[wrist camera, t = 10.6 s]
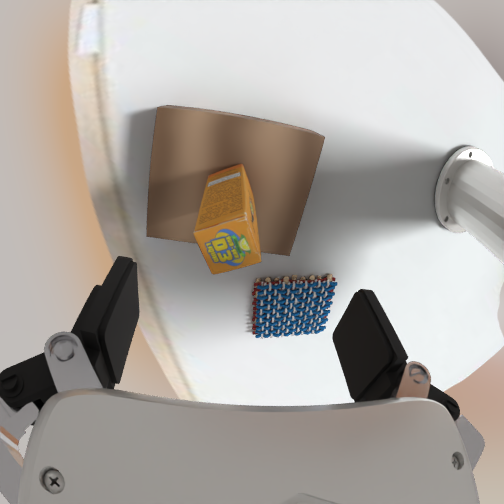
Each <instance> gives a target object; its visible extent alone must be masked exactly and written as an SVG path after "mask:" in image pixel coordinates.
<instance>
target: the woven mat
mask: <svg viewBox="0 0 504 504" xmlns="http://www.w3.org/2000/svg"><path fill="white" fill-rule="evenodd" d="M332 281H335V278H334V277H332V274H329V275H327V277H325V278H323V279H321V276H318V277H317V279H316V280H315V277H314V275H312V276H310V277H309V280H306V279H305V277H301V278H300V280H297V275H292V280H290V279H289V277H287V276H286V277H284V279H281V280H279V278H275V281H274V282H271V279H270V277H268V278H266V279H265V282H261V278H259V279H256V283H254V286H256V288H254V292H252V295H253V296H254V295H255V296H256V297H255V298H254V301H255V302H253V303H252V305H255V307H253V310H255V311H253V319H252V321H255V324H253V327H252V329H253V330H254V331H253V335H254V334H258V335H256V338H259V337H261V338H262V339H263V337H264V338H268V337H269V336H270V337H272V336H275V337H277V338H279V336H281V337H283V336H289V335H290V334H292V336H293V335H296V336H298V335H300V334H301V335H303V334H307V335H308V334H310V333H311V334H314V333H315V334H318V333H319V332H321V331H323V330H324V329H326V326H321V325H322V324H325V323H326V321H328V319H327V318H326V317H327V316H328V313H330V310H325V309H328V307H330V305H331V304H332V303H333V302H332V301H330V300H331V299H332V296H333V295H335V293H334V292H333V289H335V286H337V282H332ZM306 288H307V289H306ZM297 294H298V295H297ZM304 298H305V299H304ZM270 299H272V300H270ZM280 299H281V300H280ZM329 301H330V302H329ZM303 306H304V307H303ZM310 306H311V307H310ZM270 308H272V309H270ZM269 309H270V310H269ZM315 310H316V311H315ZM268 318H269V319H268ZM321 321H322V322H321ZM261 322H262V323H261ZM277 324H278V326H277ZM268 325H270V326H268ZM292 327H293V328H292ZM284 328H285V329H284ZM299 330H300V331H299ZM307 330H308V331H307ZM294 331H296V332H294ZM285 332H286V333H285ZM267 333H268V334H267ZM276 333H277V334H276Z"/></svg>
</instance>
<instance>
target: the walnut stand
mask: <svg viewBox="0 0 504 504" xmlns="http://www.w3.org/2000/svg"><path fill="white" fill-rule="evenodd" d="M324 139H325V137H324V136H322V135H320V134H318V133H316V132H314V131H311V130H308V129H304V128H300V127H296V126H292V125H288V124H283V123H279V122H275V121H270V120H265V119H260V118H255V117H250V116H245V115H239V114H234V113H227V112H221V111H214V110H207V109H200V108H191V107H182V106H172V105H166V106H161V107H158V108H157V114H156V121H155V129H154V137H153V145H152V155H151V165H150V177H149V191H148V208H147V237H153V238H161V239H168V240H176V241H183V242H190V243H197V241H196V239H195V237H194V234H193V232H194V230H195V226H196V222H197V218H198V214H199V209H200V205H201V201H202V198H203V194H204V190H205V187H206V183H207V179H208V176H209V175H211V174H214V173H216V172H219V171H222V170H224V169H227V168H230V167H233V166H236V165H239V164H243V166H244V169H245V172H246V175H247V177H248V180H249V183H250V187H251V190H252V193H253V197H254V203H255V210H256V218H257V226H258V234H259V243H260V252H264V253H271V254H279V255H286V256H290V252H291V249H292V246H293V243H294V240H295V237H296V234H297V230H298V227H299V224H300V221H301V218H302V214H303V211H304V208H305V205H306V201H307V198H308V195H309V191H310V188H311V185H312V181H313V178H314V174H315V171H316V168H317V164H318V161H319V157H320V154H321V150H322V146H323V143H324Z"/></svg>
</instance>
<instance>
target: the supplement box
mask: <svg viewBox="0 0 504 504" xmlns="http://www.w3.org/2000/svg"><path fill="white" fill-rule="evenodd" d="M193 234H194V237H195V239H196V241H197V243H198V245H199V247H200V250H201V252H202V254H203V256H204V258H205V260H206V262H207V264H208V266H209V269H210V271H211V273H212V274H219V273H223V272H228V271H231V270H235V269H239V268H243V267H246V266H250V265H253V264H256V263H259V262H261V252H260V243H259V234H258V226H257V218H256V210H255V203H254V197H253V193H252V190H251V187H250V183H249V180H248V177H247V175H246V172H245V169H244V166H243V164H239V165H236V166H233V167H230V168H227V169H224V170H222V171H219V172H216V173H214V174H211V175H209V176H208V179H207V183H206V187H205V190H204V194H203V198H202V201H201V205H200V209H199V214H198V218H197V222H196V226H195V230H194V232H193Z"/></svg>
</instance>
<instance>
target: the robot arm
mask: <svg viewBox="0 0 504 504" xmlns="http://www.w3.org/2000/svg"><path fill="white" fill-rule="evenodd" d="M435 208H436V213H437V216H438V219H439V220H440V222H441V224H442V225H443V226H444V227H445V228H447V229H448V230H449V231H451V232H454V233H462V232H466V231H467V232H468V233H469V234H471V235H472V236H473V237H474V238H475V239H476V240H478V241H479V242H480V243H481V244H482V245H483V246H484V247H485V248H486V249H488V250H489V251H490V252H491V253H492V254H493V255H494V256H495V257H496V258H497V259H498V260H499V261H500V262H501V263H502V264H503V265H504V173H502V172H500V171H498V170H497V169H495V168H493V165H492V162H491V160H490V158H489V157H488V155H487V154H486V153H485V152H484V151H482V150H480V149H478V148H476V147H473V146H467V147H464V148H461V149H459V150H458V151H456V152H455V153H454V154H453V155H452V156H451V157H450V158H449V159H448V161H447V162H446V164H445V165H444V167H443V169H442V171H441V174H440V176H439V179H438V182H437V186H436V193H435ZM138 319H139V298H138V281H137V263H136V262H133V260H132V258H128V257H122V256H118V257H117V259H116V261H115V262H114V264H113V266H112V268H111V270H110V272H109V274H108V275H107V277H106V279H105V280H104V282H103V284H102V286H100V285H96V286H95V287H94V288H93V290H92V292H91V294H90V296H89V297H88V299H87V301H86V303H85V305H84V307H83V309H82V311H81V313H80V314H79V317H78V318H77V321H76V322H75V325H74V327H73V329H72V331H71V333H70V332H59V333H56V334H54V335H52V336H51V337H50V338H49V339H48V340H47V342H46V343H45V347H44V353H42V354H39V355H37V356H35V357H33V358H30V359H28V360H26V361H23V362H21V363H18V364H16V365H14V366H11V367H9V368H7V369H5V370H3V371H2V372H1V373H0V492H1V493H2V494H3V496H4V497H5V498H6V499H7V500H8V502H9V503H10V504H480V502H479V497H478V492H477V487H476V483H475V479H474V476H473V472H472V471H473V469H474V467H475V465H476V464H477V462H478V460H479V458H480V456H481V454H482V452H483V449H484V446H485V442H484V439H483V437H482V435H481V434H480V433H479V432H478V431H477V430H476V429H475V428H474V427H473V425H472V424H471V423H470V422H469V421H468V420H467V419H466V418H465V417H464V416H463V415H461V416H459V415H460V409H459V406H458V404H457V402H456V401H455V400H454V399H453V398H451V397H450V396H448V395H447V394H445V393H444V392H442V391H441V390H439V389H438V388H436V387H434V386H433V385H431V384H430V383H431V376H430V373H429V371H428V369H427V368H426V367H425V366H424V365H422V364H421V363H419V362H415V361H412V362H409V363H408V364H407V363H406V360H407V359H408V356H407V354H406V352H405V350H404V348H403V346H402V344H401V342H400V340H399V338H398V336H397V334H396V332H395V330H394V328H393V326H392V325H391V323H390V321H389V319H388V317H387V315H386V313H385V312H384V310H383V308H382V306H381V304H380V303H379V301H378V299H377V297H376V295H375V294H374V292H373V291H372V290H366V289H360V290H359V291H358V292H356V293H355V294H354V296H353V297H352V299H351V301H350V303H349V305H348V307H347V309H346V311H345V312H344V314H343V316H342V318H341V320H340V322H339V323H338V325H337V327H336V329H335V330H334V332H333V342H334V345H335V348H336V351H337V354H338V357H339V360H340V363H341V367H342V370H343V373H344V376H345V379H346V383H347V386H348V389H349V392H350V396H351V398H352V399H354V401H355V403H345V404H332V405H313V406H249V405H230V404H217V403H206V402H196V401H188V400H180V399H172V398H165V397H158V396H151V395H146V394H140V393H134V392H127V391H121V390H115V389H114V386H115V383H117V384H119V383H120V380H121V377H122V373H123V369H124V365H125V361H126V358H127V355H128V351H129V348H130V344H131V341H132V338H133V335H134V331H135V328H136V325H137V322H138ZM30 425H34V427H33V429H32V432H31V435H30V438H29V442H28V445H27V450H26V453H25V458H24V459H23V457H22V456H21V454H20V453H19V448H18V443H19V440H20V438H21V437H22V436H23V435H24V434H25V433H26V432H25V430H26V429H27V428H28V427H29V426H30ZM59 471H60V472H59Z"/></svg>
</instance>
